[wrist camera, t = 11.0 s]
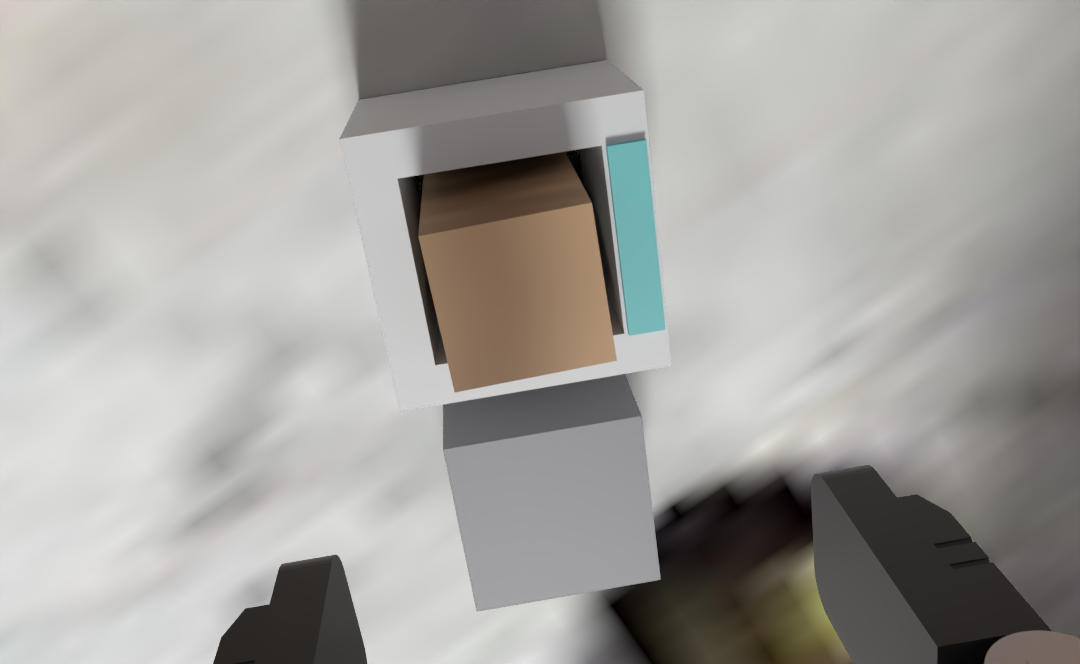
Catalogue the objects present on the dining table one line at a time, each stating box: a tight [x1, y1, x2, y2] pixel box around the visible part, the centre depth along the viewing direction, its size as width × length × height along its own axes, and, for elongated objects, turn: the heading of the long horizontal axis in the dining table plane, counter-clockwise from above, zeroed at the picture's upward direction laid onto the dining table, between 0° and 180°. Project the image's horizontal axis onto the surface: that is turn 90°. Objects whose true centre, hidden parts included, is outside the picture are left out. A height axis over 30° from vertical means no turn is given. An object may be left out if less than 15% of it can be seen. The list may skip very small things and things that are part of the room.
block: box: [418, 152, 617, 392], centre depth 27 cm, size 4×4×9 cm
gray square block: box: [443, 374, 661, 612], centre depth 33 cm, size 6×6×4 cm
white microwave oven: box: [340, 60, 672, 412], centre depth 29 cm, size 8×8×6 cm
